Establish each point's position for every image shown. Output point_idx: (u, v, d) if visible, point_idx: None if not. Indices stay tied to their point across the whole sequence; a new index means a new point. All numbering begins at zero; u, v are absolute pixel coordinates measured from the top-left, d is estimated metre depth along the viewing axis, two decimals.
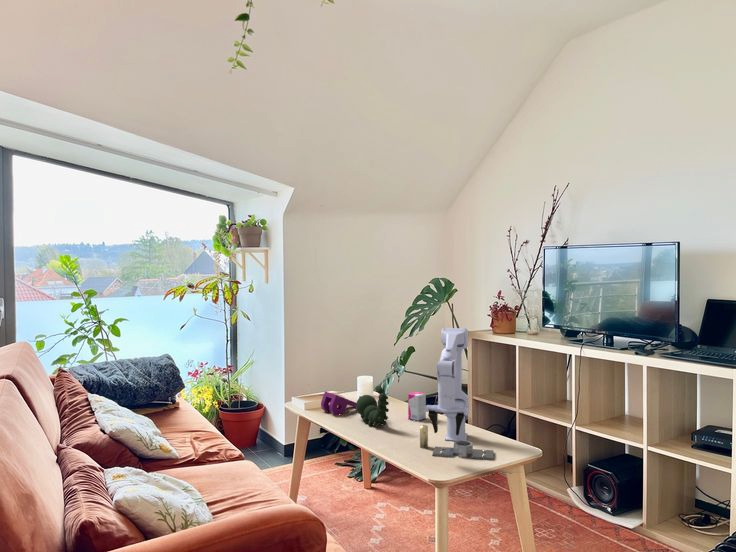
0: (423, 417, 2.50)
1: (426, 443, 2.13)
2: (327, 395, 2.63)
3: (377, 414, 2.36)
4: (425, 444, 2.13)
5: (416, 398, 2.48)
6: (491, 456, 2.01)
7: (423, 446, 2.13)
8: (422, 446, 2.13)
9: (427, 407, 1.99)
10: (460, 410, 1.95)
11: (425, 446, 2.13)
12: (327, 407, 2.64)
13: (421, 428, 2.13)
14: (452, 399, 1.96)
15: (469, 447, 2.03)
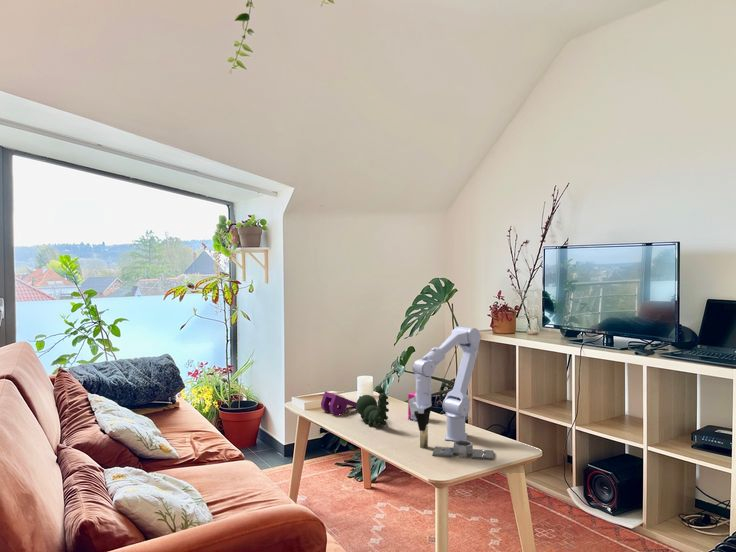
0: None
1: (426, 443, 2.13)
2: (327, 395, 2.63)
3: (377, 414, 2.36)
4: (425, 444, 2.13)
5: None
6: (491, 456, 2.01)
7: (423, 446, 2.13)
8: (422, 446, 2.13)
9: None
10: (418, 407, 2.09)
11: (425, 446, 2.13)
12: (327, 407, 2.64)
13: None
14: (418, 395, 2.11)
15: (469, 447, 2.03)
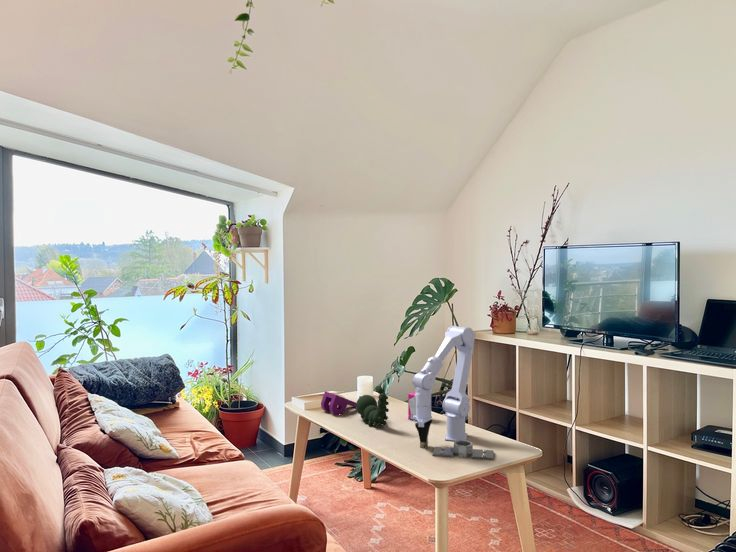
0: None
1: (426, 443, 2.13)
2: (327, 395, 2.63)
3: (377, 414, 2.36)
4: (425, 444, 2.13)
5: None
6: (491, 456, 2.01)
7: (423, 446, 2.13)
8: (422, 446, 2.13)
9: None
10: (418, 421, 2.09)
11: (425, 446, 2.13)
12: (327, 407, 2.64)
13: None
14: (418, 409, 2.12)
15: (469, 447, 2.03)
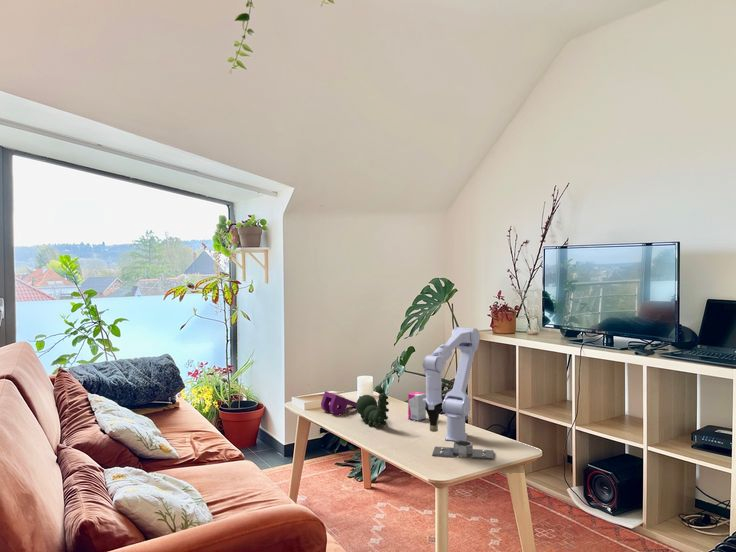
0: (423, 417, 2.50)
1: (436, 426, 2.10)
2: (327, 395, 2.63)
3: (377, 414, 2.36)
4: (435, 427, 2.10)
5: (416, 398, 2.48)
6: (491, 456, 2.01)
7: (433, 429, 2.10)
8: (432, 430, 2.10)
9: None
10: (428, 403, 2.07)
11: (435, 429, 2.10)
12: (327, 407, 2.64)
13: None
14: (429, 392, 2.09)
15: (469, 447, 2.03)
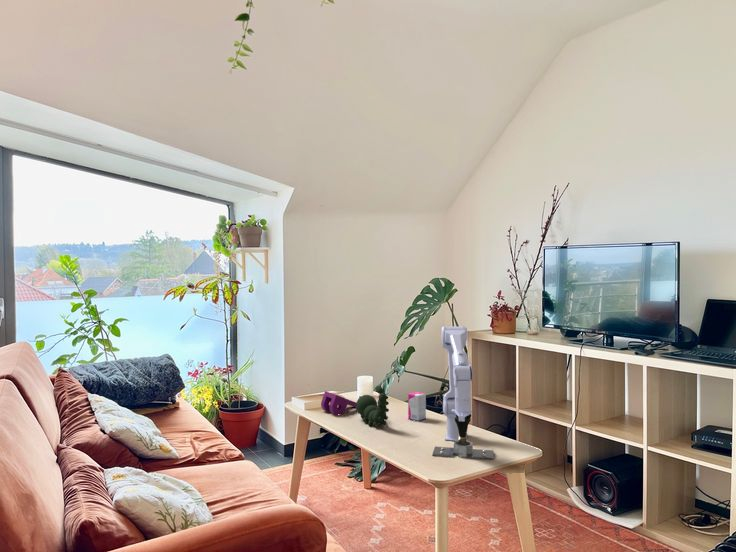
0: (423, 417, 2.50)
1: (465, 438, 2.04)
2: (327, 395, 2.63)
3: (377, 414, 2.36)
4: (463, 439, 2.04)
5: (416, 398, 2.48)
6: (491, 456, 2.01)
7: (461, 441, 2.04)
8: (461, 442, 2.04)
9: None
10: (458, 415, 2.01)
11: (464, 441, 2.04)
12: (327, 407, 2.64)
13: None
14: (458, 403, 2.03)
15: (469, 447, 2.03)
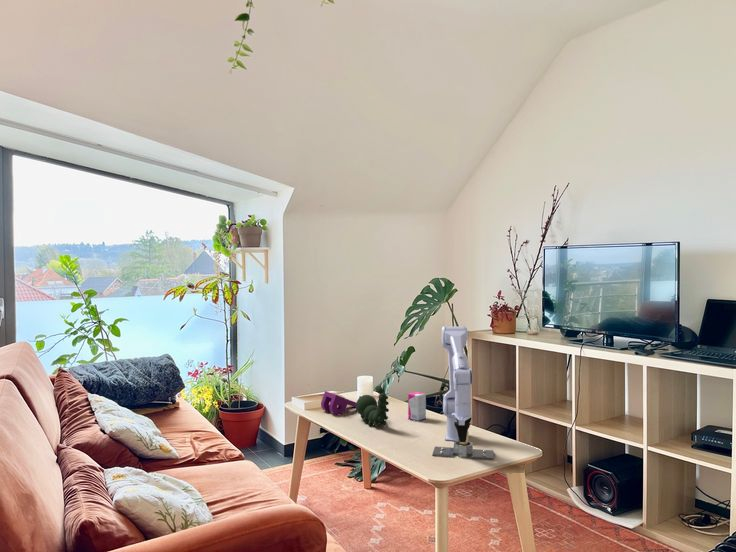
0: (423, 417, 2.50)
1: None
2: (327, 395, 2.63)
3: (377, 414, 2.36)
4: None
5: (416, 398, 2.48)
6: (491, 456, 2.01)
7: None
8: None
9: None
10: (458, 419, 2.01)
11: None
12: (327, 407, 2.64)
13: None
14: (458, 406, 2.03)
15: (469, 447, 2.03)
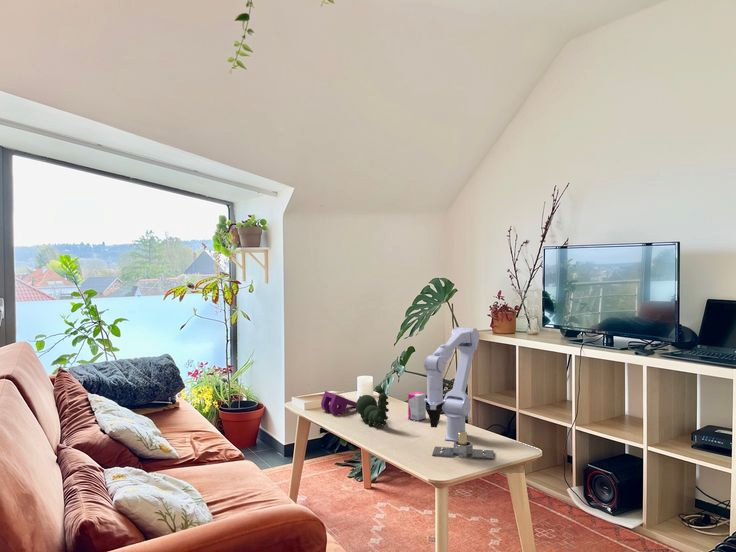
0: (423, 417, 2.50)
1: None
2: (327, 395, 2.63)
3: (377, 414, 2.36)
4: None
5: (416, 398, 2.48)
6: (491, 456, 2.01)
7: None
8: None
9: None
10: (429, 403, 2.06)
11: None
12: (327, 407, 2.64)
13: (460, 434, 2.05)
14: (430, 392, 2.09)
15: (469, 447, 2.03)
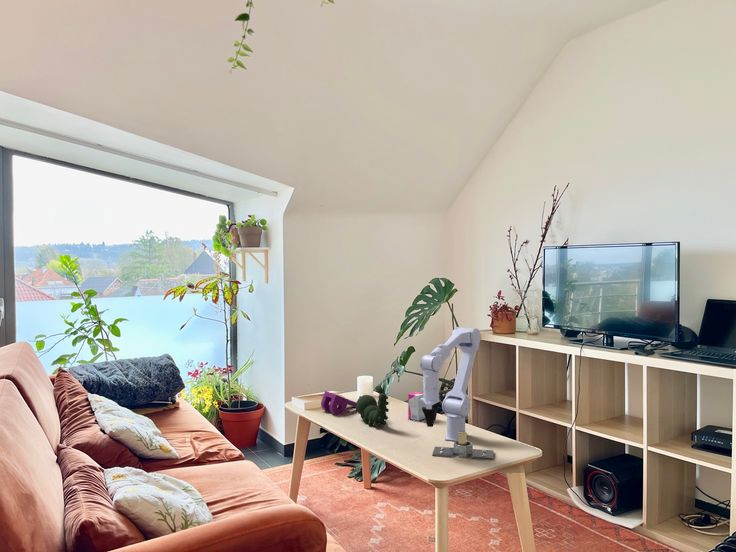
0: (423, 417, 2.50)
1: None
2: (327, 395, 2.63)
3: (377, 414, 2.36)
4: None
5: (416, 398, 2.48)
6: (491, 456, 2.01)
7: None
8: None
9: None
10: (425, 403, 2.07)
11: None
12: (327, 407, 2.64)
13: (459, 434, 2.05)
14: (426, 391, 2.10)
15: (469, 447, 2.03)
